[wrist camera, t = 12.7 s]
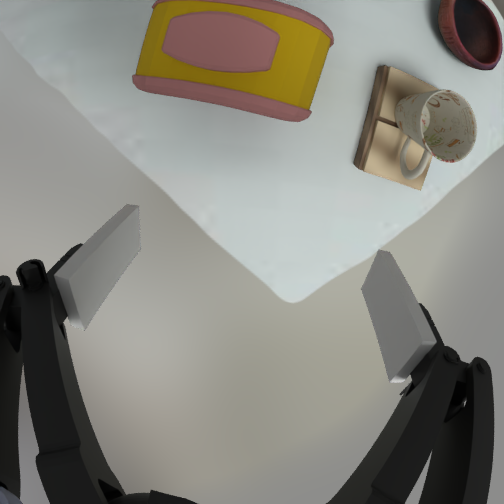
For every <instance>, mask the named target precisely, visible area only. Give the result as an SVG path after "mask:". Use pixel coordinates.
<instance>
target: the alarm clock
mask: <svg viewBox="0 0 504 504" xmlns="http://www.w3.org/2000/svg"><path fill="white" fill-rule="evenodd" d="M152 8H153V9H154V10H153V13H152V16H151V19H150V22H149V25H148V28H147V32H146V35H145V39H144V42H143V46H142V50H141V54H140V58H139V62H138V66H137V70H136V75H133V76H132V78H133V83H134V85H135V86H136V87H137V88H138V89H140V90H142V91H145V92H149V93H154V94H161V95H167V96H173V97H180V98H186V99H192V100H197V101H202V102H208V103H212V104H217V105H222V106H226V107H231V108H235V109H239V110H243V111H247V112H252V113H256V114H260V115H264V116H268V117H272V118H276V119H280V120H285V121H292V122H300V121H302V120H305V119H307V118H308V117H309V116H310V114H311V113H312V111H310V110H309V109H310V106H311V103H312V100H313V97H314V94H315V91H316V88H317V84H318V81H319V78H320V75H321V72H322V69H323V66H324V63H325V60H326V56H327V53H328V50H329V48H330V47H331V46H332V45H333V44H334V38H333V34H332V32H331V30H330V29H329V28H328V26H327V25H326V24H325V23H324V22H322V21H321V20H320V19H319V18H318V17H316V16H314V15H312V14H310V13H308V12H306V11H304V10H302V9H300V8H297V7H294V6H291V5H288V4H284V3H281V2H278V1H273V0H157V1H156V2H155V3H154V5H153V6H152Z"/></svg>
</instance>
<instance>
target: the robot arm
mask: <svg viewBox="0 0 504 504" xmlns="http://www.w3.org/2000/svg"><path fill="white" fill-rule="evenodd" d="M140 250H141V243H140V220H139V206H137V205H129V204H127V205H125V206H124V207H123V208H122V209H121V210H120V211H119V212H117V214H115V215H114V216H113V217H112V218H111V219H110V220H109V221H107V222H106V223H105V224H104V225H103V226H102V227H101V228H100V229H99V230H98V231H97V232H96V233H95V234H94V235H93V236H92V237H91V238H89V239H88V240H87V241H86V242H85V243H84V244H81V243H80V244H78V245H76V246H74V247H73V248H71V249H70V250H69V251H68V252H67V253H66V254H65V256H63V257H62V258H61V259H60V261H58V262H57V263H56V264H55V265H54V266H53V267H52V268H51V269H50V270H49V271H48V272H47V273H46V271H45V267H44V264H43V262H42V261H41V260H37V259H33V260H29V261H26V262H24V263H23V264H21V265H20V266H19V267H18V268H17V271H16V274H17V277H18V280H19V282H20V285H21V286H16V285H12V283H11V280H10V278H9V277H8V276H4V275H2V276H0V504H22V502H21V501H20V468H19V451H18V412H19V411H18V410H19V395H20V384H21V375H22V367H23V365H24V375H25V383H26V390H27V396H28V402H29V408H30V413H31V418H32V422H33V427H34V431H35V435H36V439H37V443H38V447H39V454H38V455H37V456H36V465H37V470H38V473H39V476H40V479H41V481H42V484H43V487H44V490H45V492H46V495H47V497H48V500H49V502H50V504H197V503H195V502H193V501H190V500H188V499H186V498H181V497H177V496H173V495H169V494H164V493H161V492H157V491H153V490H151V491H150V493H134V494H128V495H126V494H125V492H124V490H123V489H122V487H121V485H120V483H119V481H118V480H117V478H116V476H115V475H114V473H113V472H112V471H111V469H110V467H109V466H108V464H107V462H106V459H105V457H104V455H103V453H102V450H101V448H100V446H99V443H98V441H97V438H96V436H95V433H94V430H93V428H92V425H91V423H90V420H89V417H88V414H87V411H86V408H85V405H84V402H83V399H82V396H81V392H80V389H79V385H78V382H77V378H76V374H75V370H74V366H73V362H72V358H71V354H70V349H69V344H68V340H67V334H66V329H65V326H64V323H63V322H64V320H65V319H66V318H67V316H68V319H69V322H70V324H71V326H73V327H76V328H78V329H81V330H84V331H85V329H86V328H87V326H88V325H89V323H90V321H91V320H92V318H93V317H94V315H95V314H96V312H97V311H98V309H99V308H100V306H101V305H102V303H103V302H104V300H105V299H106V297H107V296H108V294H109V293H110V291H111V290H112V289H113V287H114V286H115V284H116V282H117V281H118V280H119V278H120V277H121V276H122V274H123V273H124V271H125V270H126V269H127V267H128V266H129V265H130V263H131V262H132V260H133V259H134V258H135V256H136V255H137V254H138V252H139V251H140ZM361 290H362V292H363V295H364V298H365V301H366V304H367V307H368V310H369V313H370V317H371V320H372V323H373V326H374V329H375V332H376V335H377V339H378V342H379V346H380V349H381V353H382V356H383V360H384V364H385V367H386V371H387V375H388V379H389V382H404V381H405V379H406V378H407V377H408V376H409V375H411V378H412V381H411V383H410V384H409V385H408V386H407V387H406V388H405V389H404V390H403V391H402V392H401V393H400V395H402V394H403V393H404V394H403V396H402V398H401V400H400V402H399V404H398V405H397V407H396V409H395V411H394V412H393V414H392V416H391V418H390V419H389V421H388V423H387V424H386V426H385V428H384V429H383V431H382V432H381V434H380V435H379V437H378V439H377V440H376V442H375V443H374V445H373V446H372V448H371V449H370V451H369V452H368V453H367V455H366V456H365V458H364V459H363V460H362V462H361V463H360V465H359V466H358V467H357V469H356V470H355V471H354V473H353V474H352V475H351V476H350V478H349V479H348V480H347V482H346V483H345V484H344V485H343V486H342V488H341V489H340V490H339V492H338V493H337V494H336V495H335V496H334V497H333V498H332V499H331V500H330V501H329V502H328V503H326V504H405V502H406V500H407V498H408V496H409V494H410V493H411V491H412V489H413V487H414V485H415V484H416V482H417V480H418V478H419V476H420V474H421V472H422V470H423V468H424V466H425V464H426V462H427V460H428V458H429V456H430V453H431V451H432V455H431V459H430V464H429V468H428V472H427V476H426V480H425V483H424V488H423V491H422V494H421V498H420V500H419V504H487V499H488V493H489V487H490V480H491V472H492V462H493V449H494V447H493V446H494V400H493V385H492V374H491V369H490V367H489V365H488V363H487V362H486V361H485V360H484V359H482V358H480V357H475V358H474V359H473V360H472V362H471V363H470V364H469V363H466V362H463V361H461V360H460V357H459V355H458V354H457V352H456V351H455V350H454V349H452V348H450V347H448V346H444V343H443V341H442V339H441V337H440V335H439V333H438V331H437V329H436V327H435V326H434V325H435V324H434V322H433V320H431V316H430V314H429V312H428V311H427V309H425V307H424V306H423V305H422V304H421V303H418V301H417V300H416V298H415V296H414V294H413V292H412V290H411V288H410V286H409V284H408V283H407V281H406V279H405V277H404V275H403V274H402V272H401V270H400V268H399V267H398V265H397V263H396V261H395V260H394V258H393V256H392V254H391V253H390V252H387V251H383V250H378V252H377V255H376V257H375V259H374V262H373V264H372V266H371V269H370V271H369V273H368V275H367V277H366V280H365V282H364V284H363V286H362V288H361ZM465 401H466V404H465V406H464V402H465Z"/></svg>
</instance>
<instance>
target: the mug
mask: <svg viewBox="0 0 504 504" xmlns="http://www.w3.org/2000/svg"><path fill="white" fill-rule="evenodd" d="M395 120H396V123H397V125H398V127H399V129H400V130H401V131H402V132H403V133H404V134H405V135H407V136H408V137H407V139H406V141H405V143H404V145H403V147H402V150H401V153H400V169H401V173H402V175H403V176H404V177H405V178H406V179H409V180H412V179H415V178H417V177H418V176H419V175H421V174H422V172H423V171H424V169H425V167H426V165H427V163H428V161H429V158H430V156H431V155H433V156H434V157H435V158H437V159H439V160H441V161H444V162H449V163H453V162H458V161H460V160H462V159H464V158H465V157H466V156H467V155H468V154H469V153H470V151H471V150H472V148H473V146H474V143H475V140H476V135H477V124H476V119H475V115H474V112H473V110H472V108H471V106H470V105H469V103H468V102H467V101H466V100H465V99H464V98H463V97H462V96H461V95H460V94H458V93H456V92H454V91H451V90H435V91H430V92H425V93H420V94H415V95H410V96H406V97H404V98H402V99H401V100H400V101H399V102H398V104H397V106H396V109H395ZM411 139H412V140H413V141H415V142H416V143H417V144H419V145H420V146H421V147H423V148H424V149H425V150H424V153H423V155H422V158H421V160H420V162H419V164H418V166H417V167H416V168H414V169H412V170H409V169H408V167H407V164H406V153H407V150H408V147H409V145H410V141H411Z"/></svg>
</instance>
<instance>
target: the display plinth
mask: <svg viewBox="0 0 504 504" xmlns="http://www.w3.org/2000/svg"><path fill="white" fill-rule="evenodd" d="M435 90H439V89H437V88H435V87H433V86H431V85H429V84H428V83H426V82H424V81H422V80H420V79H417V78H415V77H413V76H411V75H409V74H407V73H405V72H402V71H400V70H398V69H396V68H393V67H388V66H385V65H384V66H380V67H378V68H377V73H376V77H375V82H374V86H373V91H372V95H371V99H370V104H369V108H368V112H367V116H366V120H365V124H364V127H363V131H362V135H361V139H360V142H359V146H358V150H357V153H356V157H355V160H354V165H355V166H356V167H357V168H358V169H360V170H363V171H364V172H367V173H370V174H373V175H376V176H379V177H383V178H386V179H389V180H392V181H395V182H398V183H400V184H403V185H406V186H409V187H412V188H414V189H417V190H420V191H421V189H422V186H423V183H424V180H425V177H426V174H427V171H428V168H429V165H430V162H431V159H432V156H433V155H431V156H430V158H429V161H428V163H427V165H426V167H425V169H424V171H423V172H422V174H421V175H419V176H418V177H417V178H415V179H412V180H409V179H406V178H405V177H404V176H403V175H402V173H401V169H400V153H401V150H402V147H403V145H404V143H405V141H406V139H407V137H408V136H407V135H405V134H404V133H403V132H402V131H401V130H400V129H399V127H398V125H397V123H396V120H395V109H396V106H397V104H398V102H399V101H400V100H401V99H402V98H404V97H406V96H410V95H415V94H420V93H425V92H430V91H435ZM424 150H425V149H424V148H423V147H421V146H420V145H419V144H417V143H416V142H415V141H413V140H412V139H411V141H410V145H409V147H408V150H407V153H406V164H407V167H408V169H409V170H412V169H414V168H416V167H417V166H418V164H419V162H420V160H421V158H422V155H423V153H424Z"/></svg>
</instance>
